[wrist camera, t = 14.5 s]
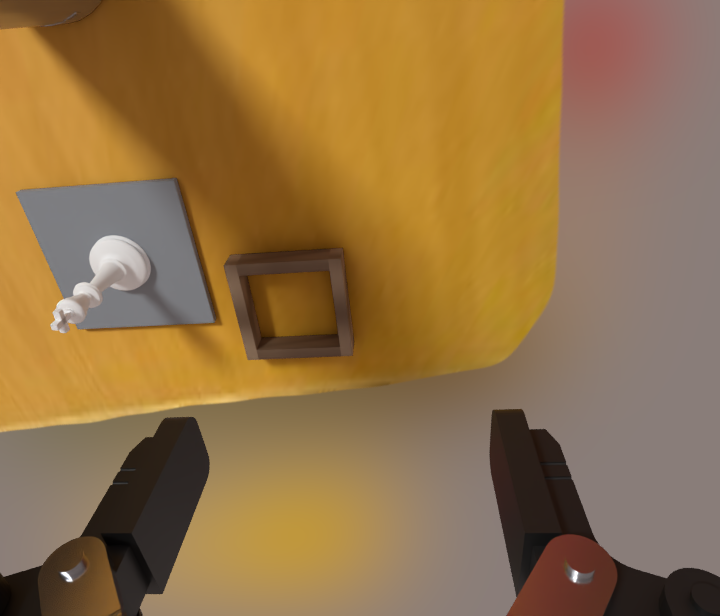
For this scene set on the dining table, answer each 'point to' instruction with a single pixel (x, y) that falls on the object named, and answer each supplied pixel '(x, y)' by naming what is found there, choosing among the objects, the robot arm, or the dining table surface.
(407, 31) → the dining table surface
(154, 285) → the mat
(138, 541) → the robot arm
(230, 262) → the square frame
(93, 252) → the chess piece
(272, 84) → the dining table surface
